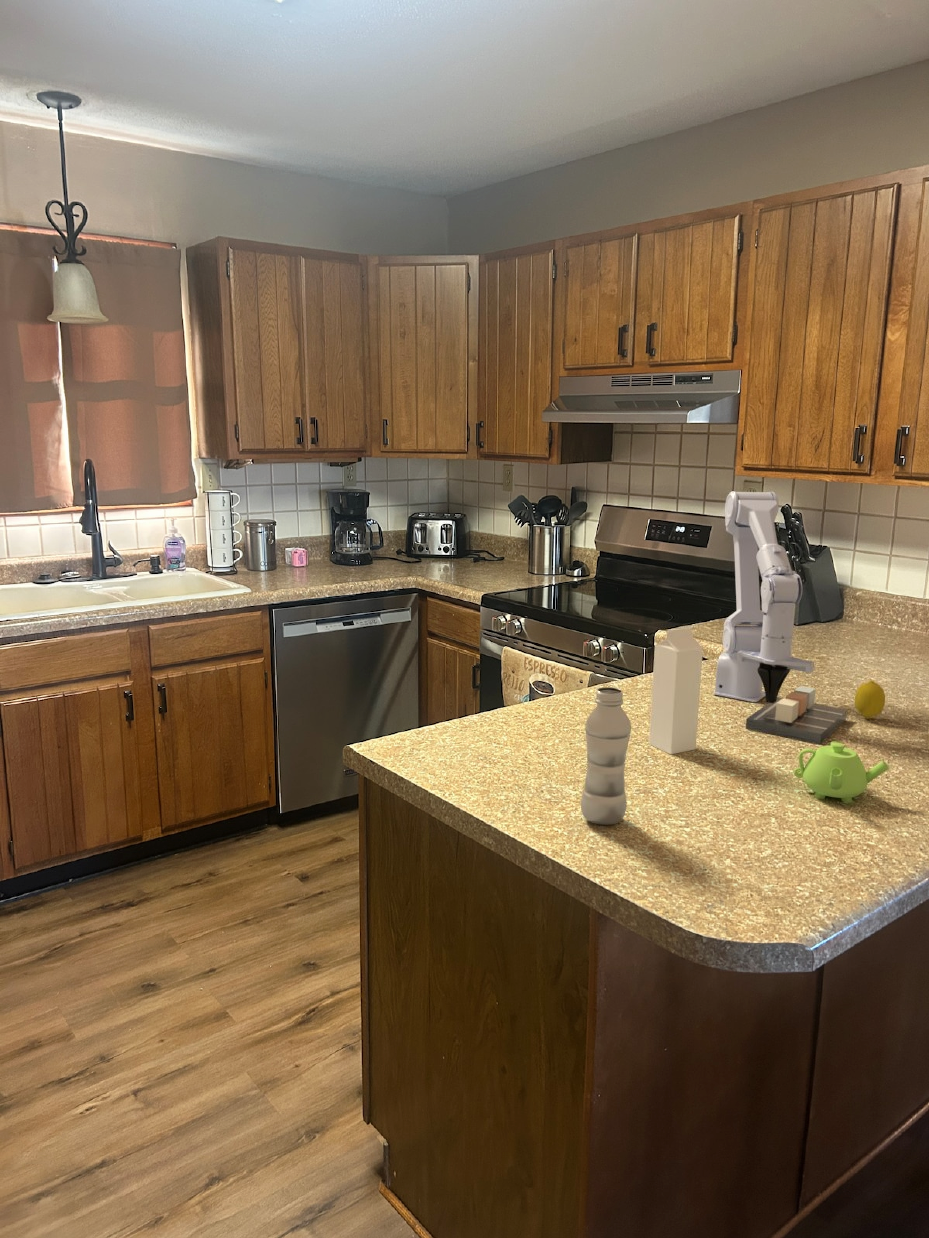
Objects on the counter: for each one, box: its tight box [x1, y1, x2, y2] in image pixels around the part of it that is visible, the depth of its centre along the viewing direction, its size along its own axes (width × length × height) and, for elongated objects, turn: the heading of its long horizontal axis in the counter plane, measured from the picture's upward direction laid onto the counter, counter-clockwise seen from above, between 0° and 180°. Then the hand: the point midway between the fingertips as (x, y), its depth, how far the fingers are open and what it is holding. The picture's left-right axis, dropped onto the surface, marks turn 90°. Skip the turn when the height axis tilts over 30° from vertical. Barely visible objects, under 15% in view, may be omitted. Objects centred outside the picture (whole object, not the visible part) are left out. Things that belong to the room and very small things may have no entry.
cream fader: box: [775, 697, 799, 723], centre depth 173 cm, size 3×4×3 cm
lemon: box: [854, 680, 886, 720], centre depth 181 cm, size 6×6×8 cm
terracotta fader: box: [785, 691, 807, 716], centre depth 178 cm, size 3×4×3 cm
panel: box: [745, 697, 848, 745], centre depth 178 cm, size 14×18×2 cm
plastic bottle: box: [580, 686, 632, 826], centre depth 131 cm, size 6×7×20 cm
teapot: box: [793, 741, 890, 804], centre depth 144 cm, size 11×12×8 cm
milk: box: [648, 627, 704, 755], centre depth 162 cm, size 6×6×22 cm
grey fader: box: [793, 685, 816, 709], centre depth 182 cm, size 3×4×3 cm
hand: (771, 701), depth 181 cm, fingers closed
